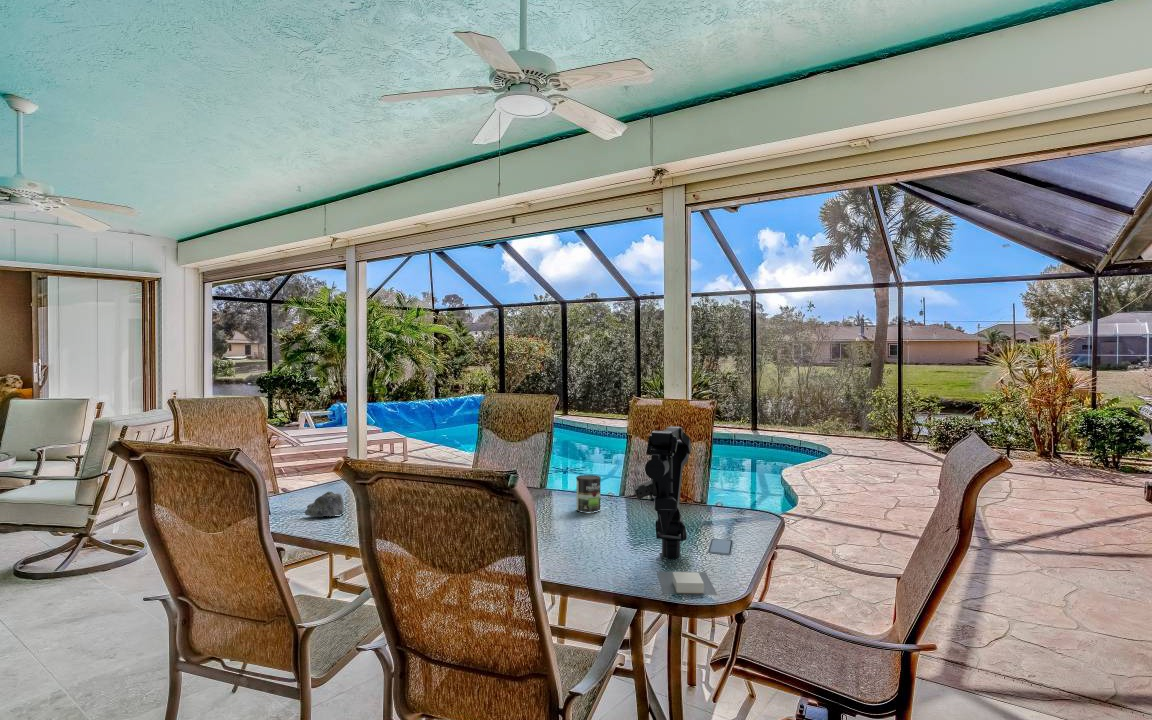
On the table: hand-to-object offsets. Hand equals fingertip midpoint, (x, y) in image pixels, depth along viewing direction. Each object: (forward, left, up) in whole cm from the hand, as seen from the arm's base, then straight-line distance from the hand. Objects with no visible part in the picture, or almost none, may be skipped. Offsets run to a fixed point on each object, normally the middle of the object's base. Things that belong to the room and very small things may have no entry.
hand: (662, 526), depth 169 cm
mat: (+11, +5, -13) cm, 18 cm away
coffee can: (-72, -23, -13) cm, 77 cm away
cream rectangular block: (+11, +5, -10) cm, 16 cm away
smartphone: (-24, +22, -14) cm, 35 cm away
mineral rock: (-57, -128, -13) cm, 141 cm away
